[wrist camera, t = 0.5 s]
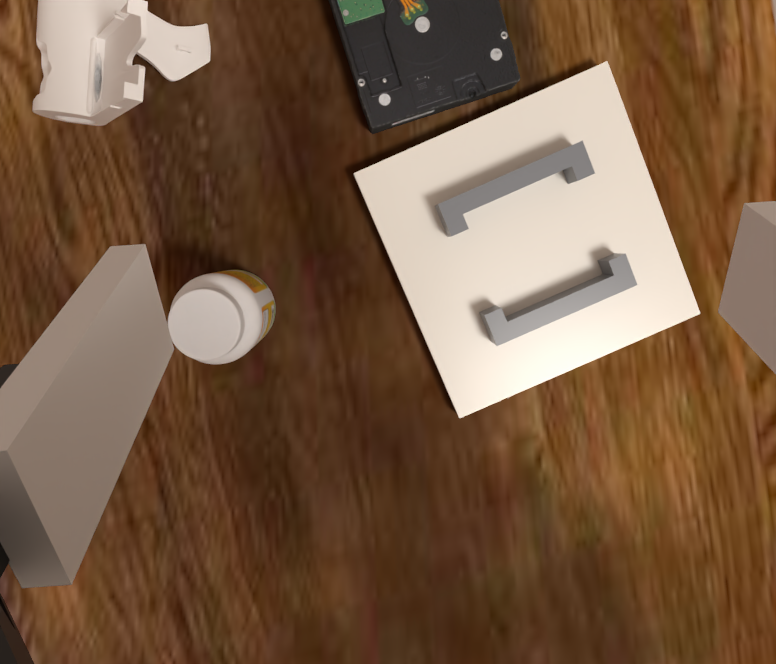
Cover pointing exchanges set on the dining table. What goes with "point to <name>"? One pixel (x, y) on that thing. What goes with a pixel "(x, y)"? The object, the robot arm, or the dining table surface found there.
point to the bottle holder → (529, 240)
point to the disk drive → (423, 55)
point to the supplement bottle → (221, 316)
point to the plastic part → (107, 56)
